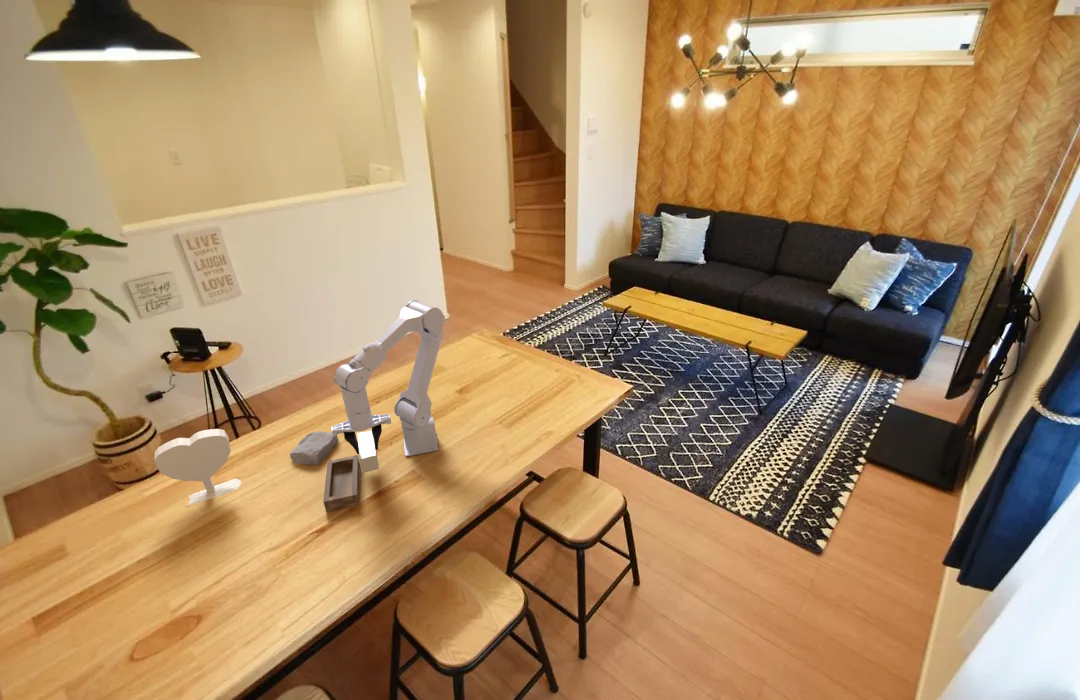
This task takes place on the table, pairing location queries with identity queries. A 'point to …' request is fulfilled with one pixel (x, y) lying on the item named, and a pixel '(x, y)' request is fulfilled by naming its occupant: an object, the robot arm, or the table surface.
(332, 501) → the shallow brown tray
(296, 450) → the stone block
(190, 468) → the heart sculpture
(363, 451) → the rectangular block
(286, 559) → the table surface
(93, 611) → the table surface
